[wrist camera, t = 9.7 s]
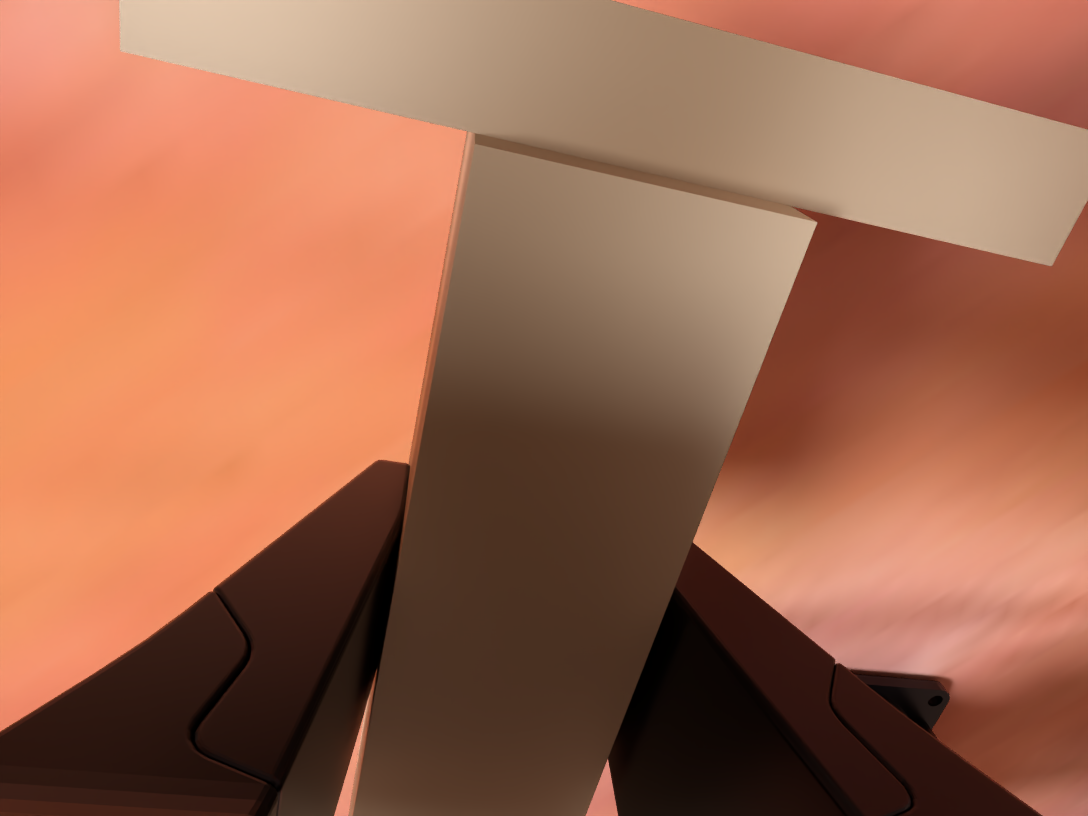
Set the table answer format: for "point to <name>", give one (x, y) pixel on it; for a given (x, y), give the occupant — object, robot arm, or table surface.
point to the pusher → (598, 327)
